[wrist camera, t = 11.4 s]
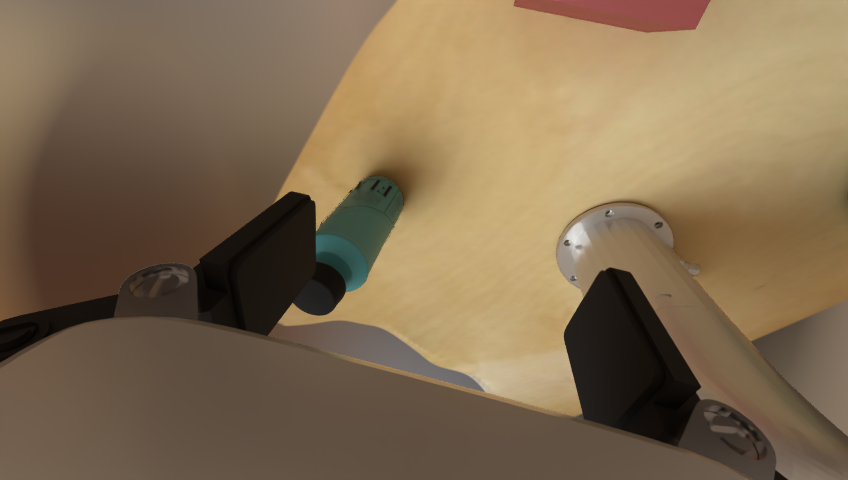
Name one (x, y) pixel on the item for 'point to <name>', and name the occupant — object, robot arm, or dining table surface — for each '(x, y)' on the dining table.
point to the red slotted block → (627, 12)
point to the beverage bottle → (350, 243)
